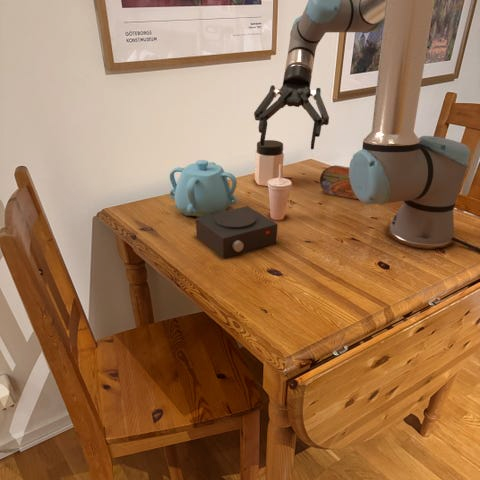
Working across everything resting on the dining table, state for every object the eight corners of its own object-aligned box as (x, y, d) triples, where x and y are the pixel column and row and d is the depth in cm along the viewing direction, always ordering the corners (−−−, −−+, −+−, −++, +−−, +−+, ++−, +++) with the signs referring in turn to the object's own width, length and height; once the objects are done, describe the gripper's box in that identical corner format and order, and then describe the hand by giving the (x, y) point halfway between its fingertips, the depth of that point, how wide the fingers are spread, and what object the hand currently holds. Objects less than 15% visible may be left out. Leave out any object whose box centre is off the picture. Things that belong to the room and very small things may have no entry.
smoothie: (287, 212, 123) (291, 161, 115) (290, 222, 118) (295, 169, 110) (264, 212, 123) (267, 161, 115) (266, 222, 118) (269, 169, 110)
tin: (317, 192, 136) (321, 164, 131) (321, 189, 138) (324, 161, 133) (366, 201, 131) (371, 172, 126) (369, 198, 133) (374, 169, 128)
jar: (267, 188, 138) (269, 148, 131) (249, 182, 143) (250, 143, 136) (286, 182, 143) (289, 143, 136) (268, 176, 148) (270, 138, 141)
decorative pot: (242, 218, 120) (243, 167, 112) (184, 226, 115) (181, 174, 107) (221, 197, 132) (220, 150, 124) (168, 204, 127) (164, 155, 119)
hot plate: (279, 245, 107) (280, 223, 104) (226, 260, 100) (225, 238, 97) (247, 224, 117) (247, 203, 113) (196, 237, 110) (195, 215, 107)
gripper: (343, 85, 124) (332, 155, 121) (255, 80, 128) (243, 148, 125) (345, 65, 116) (334, 140, 114) (252, 61, 121) (239, 133, 118)
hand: (286, 144), depth 119 cm, fingers open, 13 cm apart
